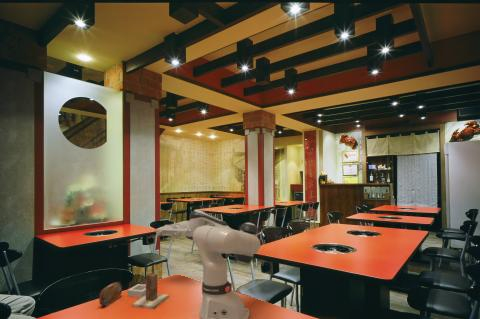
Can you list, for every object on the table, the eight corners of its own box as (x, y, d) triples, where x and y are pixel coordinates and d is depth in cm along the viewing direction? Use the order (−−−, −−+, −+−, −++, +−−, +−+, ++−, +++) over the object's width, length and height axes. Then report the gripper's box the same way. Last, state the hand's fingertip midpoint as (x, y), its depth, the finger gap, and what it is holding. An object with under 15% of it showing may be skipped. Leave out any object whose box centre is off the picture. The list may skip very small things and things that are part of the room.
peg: (157, 298, 144) (157, 273, 145) (152, 301, 140) (153, 276, 141) (150, 297, 145) (150, 273, 146) (145, 300, 141) (146, 275, 142)
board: (169, 297, 147) (169, 294, 148) (154, 309, 134) (154, 306, 134) (148, 295, 151) (148, 292, 151) (132, 306, 137) (132, 303, 137)
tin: (103, 308, 135) (103, 290, 136) (97, 308, 136) (98, 290, 136) (122, 296, 150) (122, 280, 150) (117, 295, 150) (117, 279, 151)
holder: (152, 291, 156) (152, 285, 156) (142, 297, 148) (142, 291, 148) (137, 289, 159) (137, 284, 159) (127, 295, 150) (127, 290, 150)
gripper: (193, 236, 173) (183, 240, 160) (163, 234, 178) (151, 239, 165) (193, 225, 173) (183, 229, 160) (163, 224, 179) (151, 228, 165)
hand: (166, 234), depth 163 cm, fingers open, 8 cm apart
